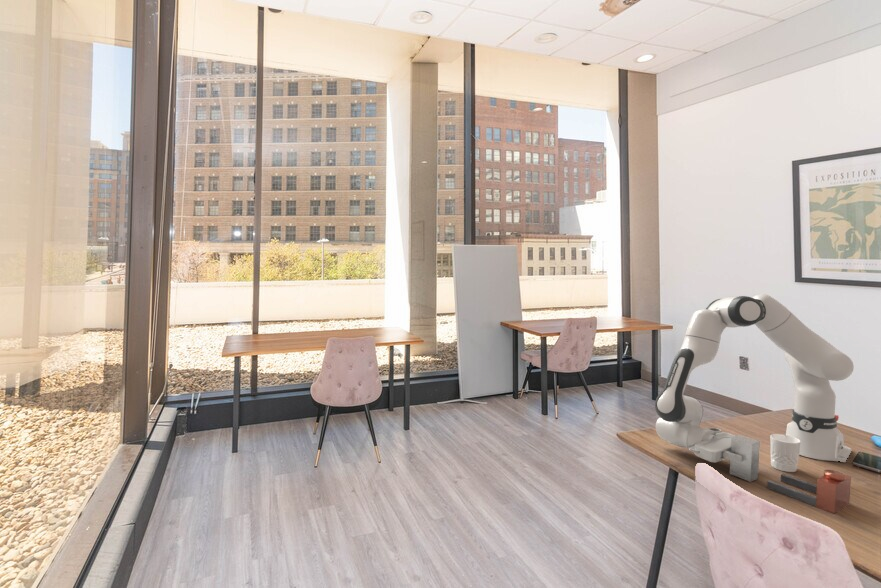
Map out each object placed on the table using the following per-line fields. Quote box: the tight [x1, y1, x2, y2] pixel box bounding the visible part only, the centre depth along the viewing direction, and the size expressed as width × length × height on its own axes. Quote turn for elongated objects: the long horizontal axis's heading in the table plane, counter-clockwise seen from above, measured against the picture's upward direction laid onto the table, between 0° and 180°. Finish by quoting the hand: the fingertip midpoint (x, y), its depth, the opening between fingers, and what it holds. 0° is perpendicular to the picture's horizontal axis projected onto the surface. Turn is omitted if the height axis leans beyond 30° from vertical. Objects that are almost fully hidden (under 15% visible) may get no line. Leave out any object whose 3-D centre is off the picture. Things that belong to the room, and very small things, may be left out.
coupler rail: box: [766, 469, 852, 514], centre depth 127 cm, size 10×16×9 cm, turn 29°
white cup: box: [769, 433, 801, 473], centre depth 145 cm, size 8×8×10 cm
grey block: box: [729, 434, 761, 483], centre depth 139 cm, size 5×6×12 cm
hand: (747, 457), depth 138 cm, fingers closed on grey block, 5 cm apart
